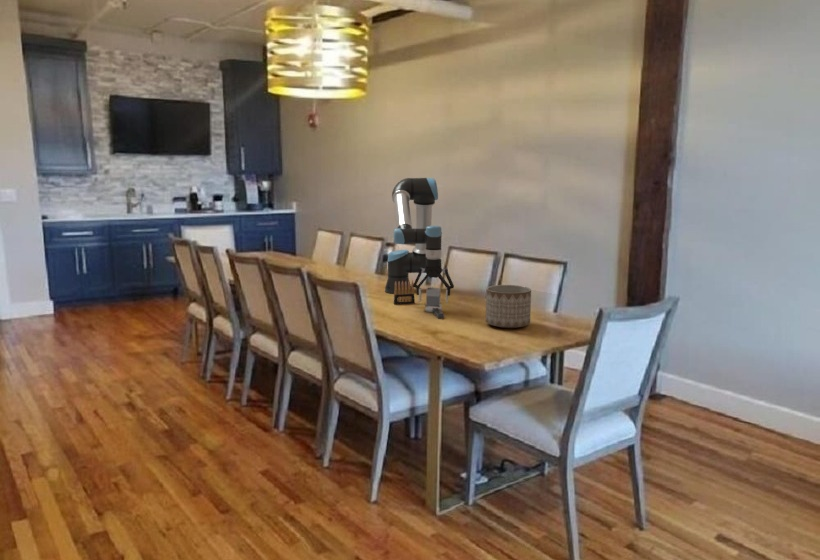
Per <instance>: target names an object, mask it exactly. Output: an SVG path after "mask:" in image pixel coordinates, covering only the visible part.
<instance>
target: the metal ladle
mask: <svg viewBox="0 0 820 560" xmlns="http://www.w3.org/2000/svg"><path fill="white" fill-rule="evenodd" d="M424 306H425V307H424V313H428V314H432V315H434V316H435V317H436V318H437V319H438V320H440V319H441V320H442V319H445V314H444V312H443V310H442V308H443V307H442V304H441V303H440V305H439V307H433V306H426V304H425V305H424Z"/></svg>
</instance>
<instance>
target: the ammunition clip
mask: <svg viewBox="0 0 820 560" xmlns="http://www.w3.org/2000/svg"><path fill="white" fill-rule="evenodd" d="M410 284H411V288H410ZM413 284H414V280H411V281H410V280H409V282H408V291H407V282H406V281H405V288H404V283H403V281H402V284H401V288H400V281H399V282H398V294H397V283H396V281H395V288H394V294H393V304H394V305H396V306H397V305H410V304H411V305H413V304H414V305H415V303H416V302H415V299H416V298H415V287H413Z"/></svg>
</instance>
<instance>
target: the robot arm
mask: <svg viewBox="0 0 820 560" xmlns="http://www.w3.org/2000/svg"><path fill="white" fill-rule="evenodd" d="M438 191H439V190H438V184H437V181H436V179H435V178H431V177H407V178H403V179H401V180H400V181H398V182H397V183H396V184H395V185H394V188H393V190H392V191H391V198H392V199H391V200H392V202H393V204H394V209H395V210H394V212H395V222H396V228H394V230H393V242H394V244H396V245H415V246H414V247H413V248H412V250H411V251H412V252H410V251H409V249H399V250H393V251H390V252H389V253H388V254H387V281H386V283H385V286H384V292H385V293H387V294H392V295H394V288H395V281H396V283H397V294H398V282H399V281H400V288H401V284H402V281H403V283H404V288H405V281H406V282H407V291H408V282H409V281H410V278H409V274H417V276H416V279H415V280H414V281H413V283H414V284H413V287H414V289H416V295H418V302H419V303H421V302H422V287H421V286H422V285H423V284H424V283H425V281H427V279H428V278H430V279H431V278H435V279H436V278H438V279H439V280H440V281H441V282H442V284H443V285H444V286H445V288H446V289H445V304H447V303H448V302H449V297H450V295H451V290H452V289H454V287H455V285H454V283H453V281H452V278H451V277H450V274H449V269H448V267H447V268H443V267H442V237H443V236H442V234H443V233H442V227H441V226H439V225H432V215H433V214H432V212H433V206H434V205H435V204H436V201H437V200H438V199H439V193H438ZM410 201H413V205H415V208H416V209H415V228H413V225H412V215H411V208H410ZM442 273H443V274H445V277H446V280H447V281H448V282H447V281H446V280H445V278H444V277H443V276H442ZM422 274H426V275H425V276H424V277H423V278H422V280H421V281H420V282H419V280H420V278H421V276H422ZM410 288H411V283H410Z"/></svg>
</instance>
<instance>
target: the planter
mask: <svg viewBox="0 0 820 560" xmlns="http://www.w3.org/2000/svg"><path fill="white" fill-rule="evenodd" d="M531 303H532V288H530V287H527V286H524V285H515V284H497V285H496V284H495V285H490V286H487V287H486V293H485V322H486V323H487V324H488V325H490V326H495V327H497V328H502V329H518V328H521V327H526V326H529V325H530V323H531V308H532V306H531Z"/></svg>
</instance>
